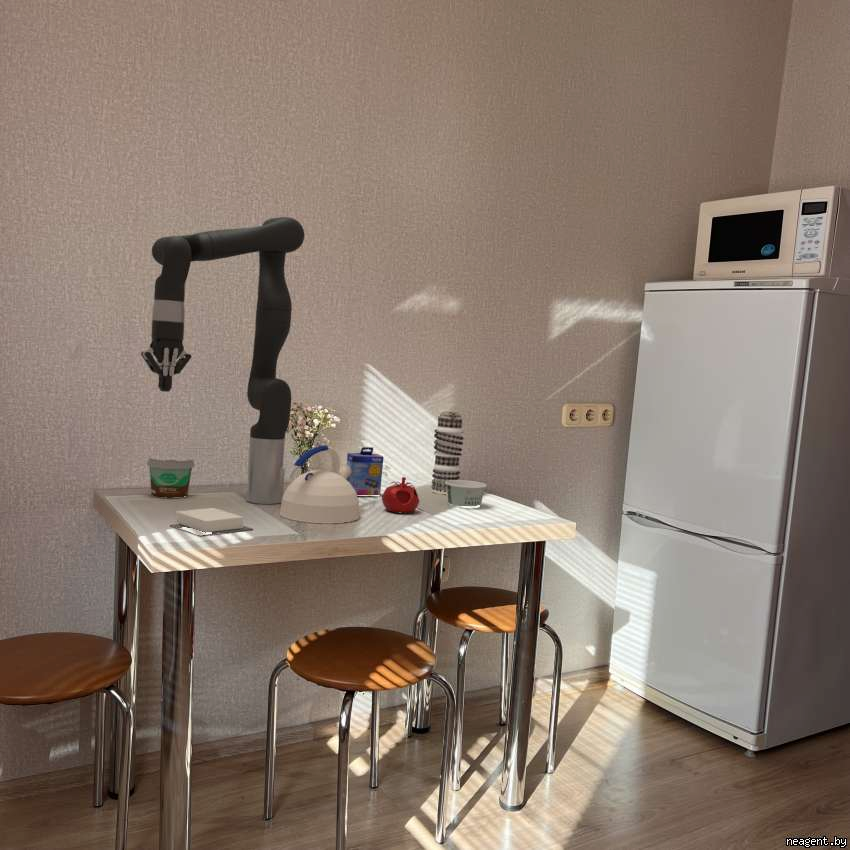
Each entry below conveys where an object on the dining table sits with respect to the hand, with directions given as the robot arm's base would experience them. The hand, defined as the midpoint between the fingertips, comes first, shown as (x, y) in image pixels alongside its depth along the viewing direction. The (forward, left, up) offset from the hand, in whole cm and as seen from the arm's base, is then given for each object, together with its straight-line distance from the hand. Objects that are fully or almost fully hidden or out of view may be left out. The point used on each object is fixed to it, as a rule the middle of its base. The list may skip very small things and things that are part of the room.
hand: (164, 391), depth 215 cm
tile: (-8, +16, -27) cm, 33 cm away
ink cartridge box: (-57, -24, -29) cm, 68 cm away
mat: (-11, +22, -29) cm, 38 cm away
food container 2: (-84, -11, -29) cm, 90 cm away
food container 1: (-3, -16, -29) cm, 33 cm away
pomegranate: (-62, -1, -29) cm, 69 cm away
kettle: (-39, +6, -29) cm, 49 cm away
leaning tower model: (-85, -32, -29) cm, 95 cm away
